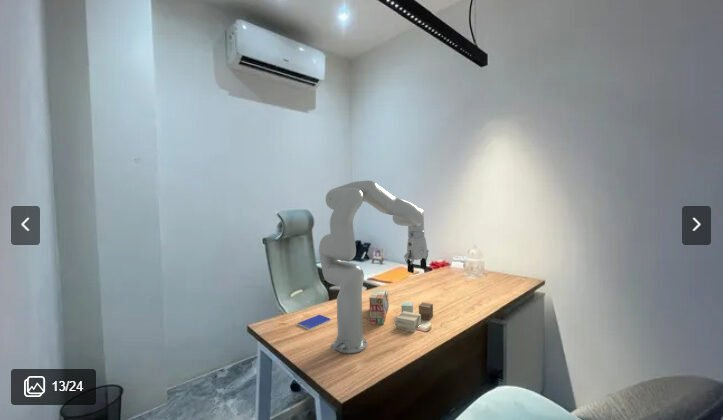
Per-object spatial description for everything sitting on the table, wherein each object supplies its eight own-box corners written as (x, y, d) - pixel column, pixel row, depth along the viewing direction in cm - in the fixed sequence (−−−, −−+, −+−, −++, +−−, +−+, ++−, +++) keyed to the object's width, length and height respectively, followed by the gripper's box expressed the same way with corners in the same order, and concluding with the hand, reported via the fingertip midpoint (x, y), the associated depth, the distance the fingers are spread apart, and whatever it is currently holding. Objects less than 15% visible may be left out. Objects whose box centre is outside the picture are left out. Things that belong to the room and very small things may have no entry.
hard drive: (309, 327, 128) (330, 318, 137) (297, 322, 133) (318, 314, 142) (309, 331, 128) (330, 321, 137) (297, 326, 133) (319, 317, 143)
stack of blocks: (376, 306, 153) (376, 283, 153) (388, 307, 152) (388, 283, 152) (369, 324, 132) (369, 297, 132) (383, 325, 131) (383, 297, 131)
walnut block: (429, 320, 135) (429, 307, 135) (418, 318, 137) (418, 305, 137) (433, 316, 139) (432, 304, 139) (422, 314, 142) (422, 302, 141)
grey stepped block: (414, 332, 123) (414, 321, 123) (396, 328, 127) (396, 317, 127) (421, 325, 130) (420, 314, 130) (404, 321, 134) (403, 311, 134)
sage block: (412, 318, 137) (412, 306, 137) (401, 318, 138) (401, 305, 138) (413, 314, 142) (412, 302, 142) (402, 314, 143) (402, 301, 143)
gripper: (410, 237, 133) (411, 275, 134) (433, 233, 144) (434, 268, 145) (398, 236, 138) (399, 272, 139) (421, 232, 150) (421, 265, 151)
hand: (417, 270), depth 142 cm, fingers open, 9 cm apart
